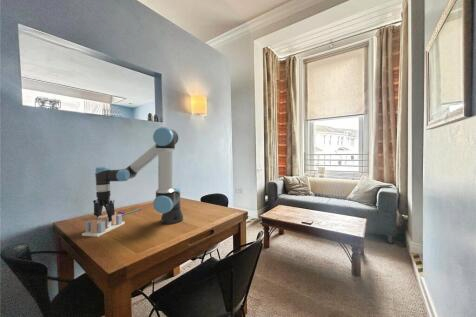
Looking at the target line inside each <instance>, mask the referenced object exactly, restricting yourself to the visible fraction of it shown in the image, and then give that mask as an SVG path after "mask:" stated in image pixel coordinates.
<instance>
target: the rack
mask: <svg viewBox="0 0 476 317" xmlns="http://www.w3.org/2000/svg"><path fill="white" fill-rule="evenodd" d="M90 221H91V220H88V221H85V222H84V223H85V224H84V226H85V230H84V231H85V232H83V233H81V236H82V237H94V238H95V237H97V238H99V237H101V236H102V235H104V234H106V233H108V232H111V231H113V230H115V229H116V228H118V227H121V226H122V225H125V221H123V215H122V214H121V213H118V214H116V223H115V224H113V225H111V226H110V227H107V228H106V229H105V221H102V222H99V223H98V233H91V223H90Z"/></svg>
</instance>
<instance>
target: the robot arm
mask: <svg viewBox="0 0 476 317" xmlns="http://www.w3.org/2000/svg"><path fill="white" fill-rule="evenodd" d="M152 139H153V142H154V143H155V144H154V145H152V146H151V148H149V149H148V150H146V151H145V152H144V153H143V154H141V155H140V156H139V157H138V158H137V159H135V160H134V161H133V162H132V163H131V164H129V165H128V166H127V167H126V168H120V169H110V167H109V166H97V167H96V168H95V173H94V175H95V191H96V192H95V193H96V194H95V195H96V198H97V199H94V200H92V202H93V216H95V217H96V219H97V218H99V217H102V216H103V214H102V213H103V209H105V212H106V214H107V215H108V217H107V227H110V226H111V221H112V216H113V215H115V200H114V199H111V198H110V197H111V182H128V180H130V179H133V178H135V177H137V175H138V173H140V172H141V171H142V170H144V168H146V167H147V166H148V165H149V164H151V163H152V162H153V161H155V159H156V158H157V159H158V160H157V161H158V162H157V163H158V164H157V168H158V171H157V172H158V174H157V175H158V177H157V182H158V183H157V184H158V187H157V189H156V191H155V198H154V200H153V203H152V206H153V208H154V210H155V211H156V212H157V213H159V214H161V215H162V216H161V219H160V220H161V221H160V222H161V223H162V224H164V225H167V224H168V225H172V224H177V223H181V222H182V221H183V220H184V215H183V212H182V209H181V190H180V188H173V152H174V151H175V149H176V145H177V143H178V141H179V134H178V133H177V131H176V130H174V129H172V128H169V127H164V126H163V127H159V128H157V129H156V130H154V132H153V135H152ZM103 207H104V208H103Z"/></svg>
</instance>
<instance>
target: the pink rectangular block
mask: <svg viewBox="0 0 476 317" xmlns="http://www.w3.org/2000/svg"><path fill="white" fill-rule="evenodd" d="M116 215H117V212H115V215H113V216H112V221H111V225H113V224H115V223H116ZM101 216H102V217H99V218H97V217H96V218H95V219H93V220H89V221H90V223H91V233H98V223H99V222H102V221H105V229H106V228H107V217H108V215H107V213H106V214H104V215H101Z"/></svg>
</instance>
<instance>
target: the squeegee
mask: <svg viewBox="0 0 476 317" xmlns="http://www.w3.org/2000/svg"><path fill="white" fill-rule="evenodd" d="M141 210H142V208H138V209H135V210H132V211H129V212H124V211H118V214H122V216H125V215H128V214H131V213H134V212H138V211H141Z"/></svg>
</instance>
